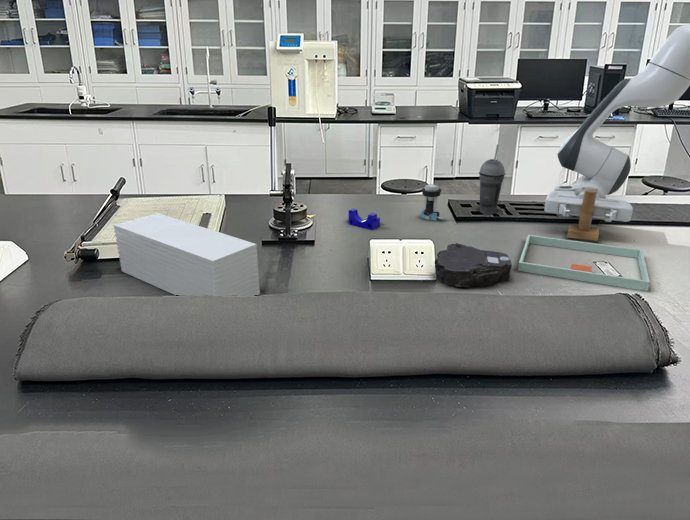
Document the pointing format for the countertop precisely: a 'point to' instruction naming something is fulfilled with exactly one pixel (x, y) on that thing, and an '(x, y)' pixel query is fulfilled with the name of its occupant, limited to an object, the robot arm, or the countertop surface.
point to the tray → (584, 275)
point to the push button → (430, 202)
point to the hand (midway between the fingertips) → (587, 216)
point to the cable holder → (369, 223)
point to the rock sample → (471, 266)
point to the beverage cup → (490, 184)
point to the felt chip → (581, 268)
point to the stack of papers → (187, 257)
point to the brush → (585, 220)
